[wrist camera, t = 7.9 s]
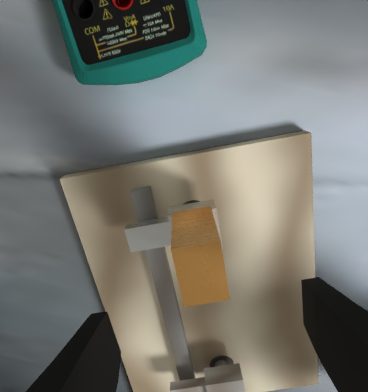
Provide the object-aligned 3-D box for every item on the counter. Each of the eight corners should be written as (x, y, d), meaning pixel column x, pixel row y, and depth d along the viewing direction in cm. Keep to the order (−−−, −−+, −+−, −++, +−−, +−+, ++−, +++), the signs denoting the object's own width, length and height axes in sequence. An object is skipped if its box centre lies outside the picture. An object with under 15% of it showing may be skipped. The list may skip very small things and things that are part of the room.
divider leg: (211, 189, 19) (227, 239, 12) (217, 233, 20) (236, 298, 14) (126, 204, 19) (101, 261, 13) (137, 247, 20) (119, 317, 14)
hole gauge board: (304, 130, 19) (332, 139, 15) (313, 373, 26) (333, 415, 23) (65, 174, 19) (40, 193, 16) (140, 398, 27) (135, 443, 23)
